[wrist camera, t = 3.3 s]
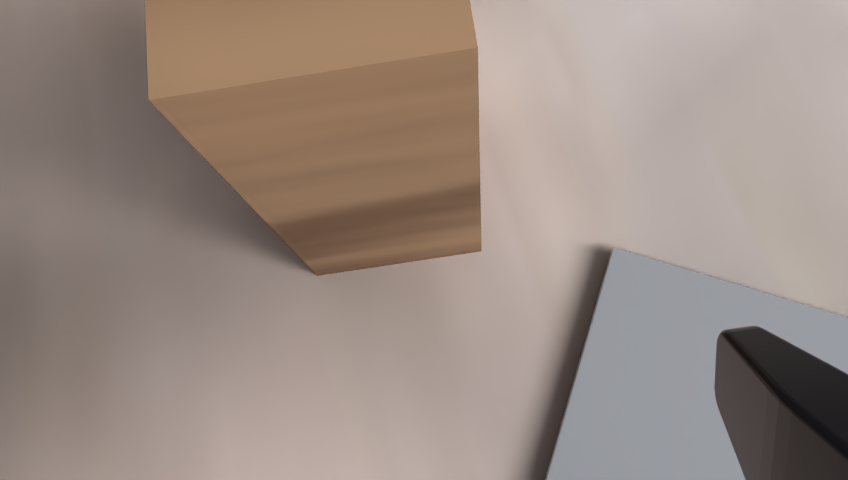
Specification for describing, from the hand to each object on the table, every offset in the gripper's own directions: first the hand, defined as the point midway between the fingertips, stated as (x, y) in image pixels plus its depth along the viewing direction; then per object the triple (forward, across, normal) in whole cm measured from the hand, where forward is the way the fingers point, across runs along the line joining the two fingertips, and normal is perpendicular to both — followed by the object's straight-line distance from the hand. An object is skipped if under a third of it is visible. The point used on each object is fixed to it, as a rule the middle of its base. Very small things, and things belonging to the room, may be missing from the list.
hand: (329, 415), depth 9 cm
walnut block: (+15, 0, +4) cm, 15 cm away
